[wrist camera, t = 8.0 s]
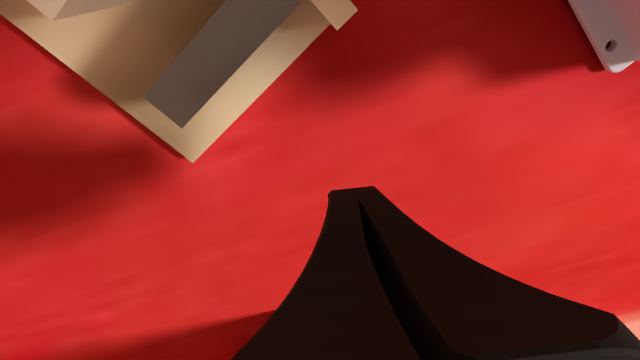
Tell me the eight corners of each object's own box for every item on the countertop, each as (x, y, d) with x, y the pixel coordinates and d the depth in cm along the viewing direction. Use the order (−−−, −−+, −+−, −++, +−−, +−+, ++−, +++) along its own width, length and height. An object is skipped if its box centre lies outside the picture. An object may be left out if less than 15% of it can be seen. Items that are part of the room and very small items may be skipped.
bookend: (296, -5, 15) (298, 4, 11) (206, 91, 16) (182, 128, 13) (267, -38, 14) (259, -39, 11) (177, 65, 16) (142, 96, 12)
